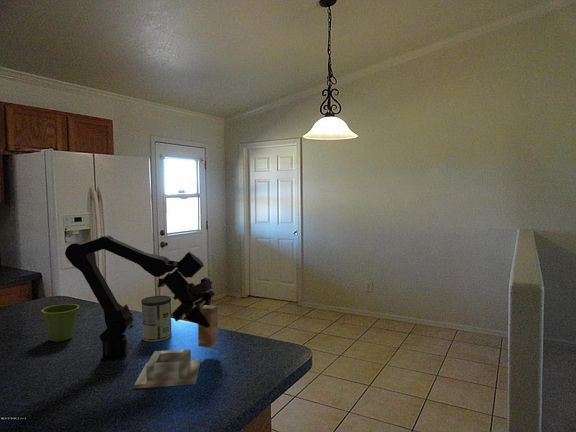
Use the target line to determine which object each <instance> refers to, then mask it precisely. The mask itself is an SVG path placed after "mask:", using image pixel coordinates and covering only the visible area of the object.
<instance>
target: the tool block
mask: <svg viewBox="0 0 576 432" xmlns="http://www.w3.org/2000/svg"><path fill="white" fill-rule="evenodd" d="M191 357H192V354H191V349H190V348H189V349H170V350H154V352H153V353H152V355H151V357H150V359H149V360H148V362H146V363H145V364H144V367H143V369H142V370H141V372H140V374H139V375H138V377H137V379H136V381H135V383H134V385H133V386H134V387H133V388H134V389H143V388H144V389H146V388H147V389H148V388H161V387H174V386H177V387H178V386H188V385H189V386H192V385H196V384H197V382H198V376H199V371H200V367H201V361H202V360H201V359H199V358H198V359H192V358H191Z"/></svg>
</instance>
